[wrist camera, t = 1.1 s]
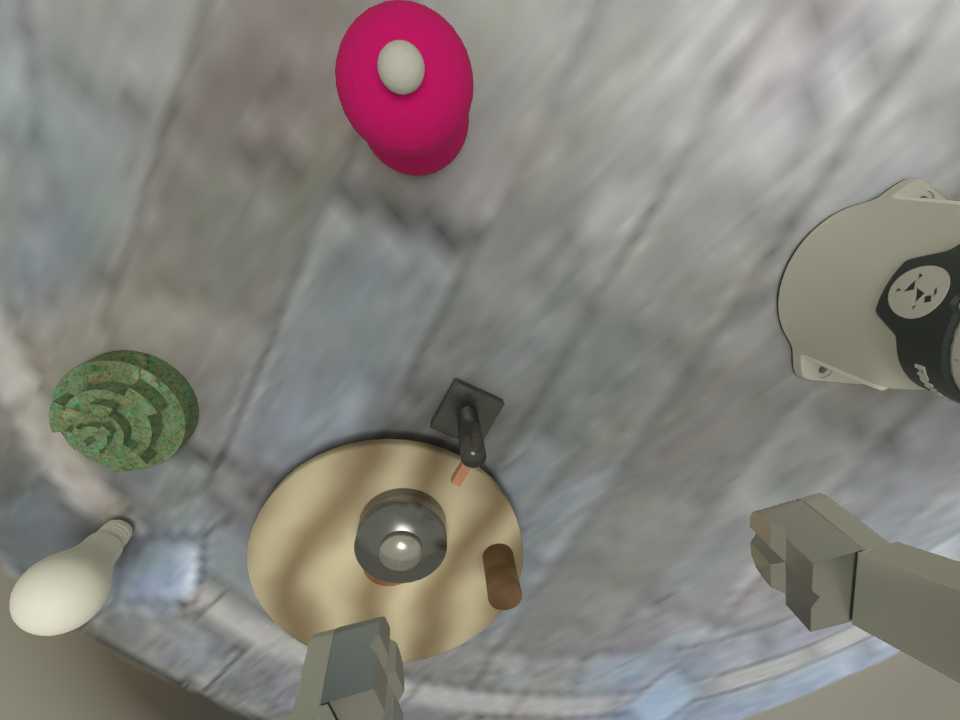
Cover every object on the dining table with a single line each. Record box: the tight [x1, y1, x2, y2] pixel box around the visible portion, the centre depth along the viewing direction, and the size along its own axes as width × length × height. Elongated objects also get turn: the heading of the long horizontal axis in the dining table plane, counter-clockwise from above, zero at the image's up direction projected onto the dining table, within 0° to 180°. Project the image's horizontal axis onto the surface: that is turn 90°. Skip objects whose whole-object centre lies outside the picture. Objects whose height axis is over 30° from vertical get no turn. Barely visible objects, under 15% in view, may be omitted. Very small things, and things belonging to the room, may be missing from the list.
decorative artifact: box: [49, 350, 199, 472], centre depth 38 cm, size 10×7×10 cm
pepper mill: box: [335, 0, 473, 176], centre depth 27 cm, size 7×7×20 cm
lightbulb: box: [9, 520, 133, 636], centre depth 40 cm, size 6×6×11 cm
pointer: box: [431, 378, 504, 487], centre depth 41 cm, size 6×5×8 cm
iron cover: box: [354, 488, 447, 583], centre depth 43 cm, size 8×8×4 cm
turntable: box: [247, 439, 523, 662], centre depth 44 cm, size 26×26×6 cm
